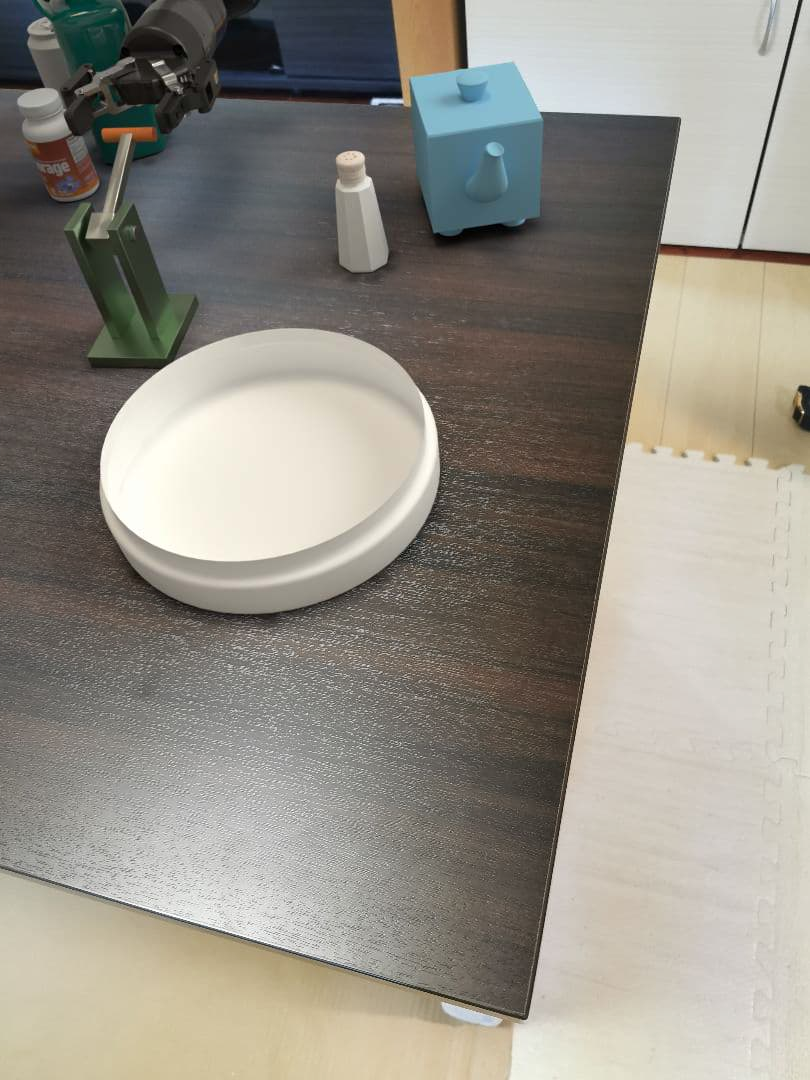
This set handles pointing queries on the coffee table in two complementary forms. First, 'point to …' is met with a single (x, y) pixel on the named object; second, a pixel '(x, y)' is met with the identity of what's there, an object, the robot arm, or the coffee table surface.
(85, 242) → the bracket
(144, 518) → the white round dish
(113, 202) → the lever
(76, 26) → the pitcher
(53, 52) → the can
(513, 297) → the coffee table surface
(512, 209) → the teapot
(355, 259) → the salt shaker
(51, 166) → the pill bottle
